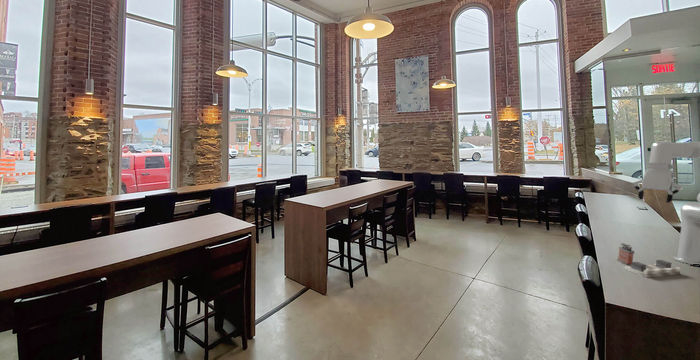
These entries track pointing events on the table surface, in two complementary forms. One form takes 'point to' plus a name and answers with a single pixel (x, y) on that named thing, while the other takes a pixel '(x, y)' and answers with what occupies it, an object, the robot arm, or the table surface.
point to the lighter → (625, 254)
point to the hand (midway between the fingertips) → (654, 200)
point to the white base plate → (653, 269)
